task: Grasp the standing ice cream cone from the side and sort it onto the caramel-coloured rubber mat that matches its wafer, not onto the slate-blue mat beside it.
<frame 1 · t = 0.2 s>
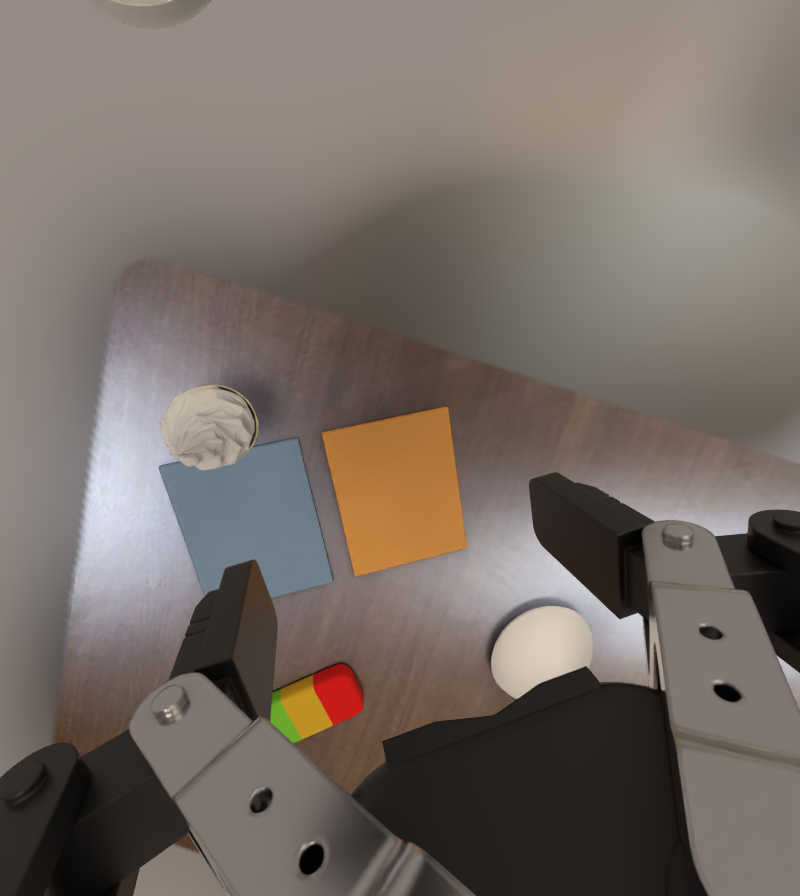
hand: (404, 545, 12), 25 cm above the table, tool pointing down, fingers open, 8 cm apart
ice cream cone: (239, 403, 34), on the table
slate pad: (253, 526, 37), on the table
caramel pad: (398, 492, 38), on the table
popsicle: (286, 706, 42), on the table
flower in vase: (535, 634, 46), on the table
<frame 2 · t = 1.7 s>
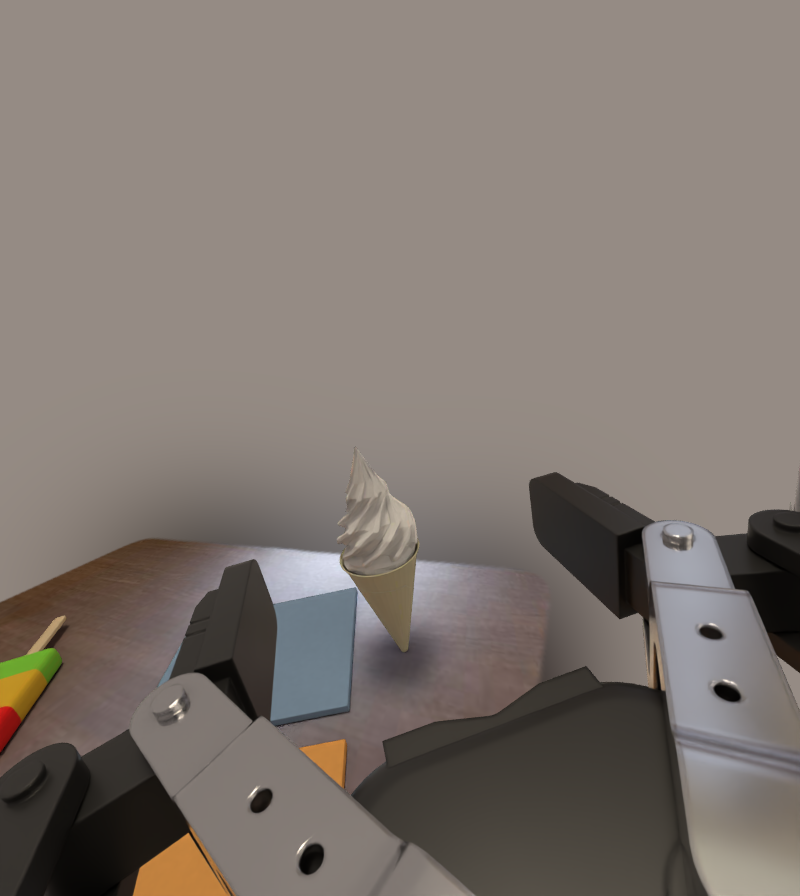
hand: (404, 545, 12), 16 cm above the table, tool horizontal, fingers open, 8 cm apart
ice cream cone: (405, 651, 29), on the table
slate pad: (259, 660, 31), on the table
popsicle: (18, 692, 33), on the table
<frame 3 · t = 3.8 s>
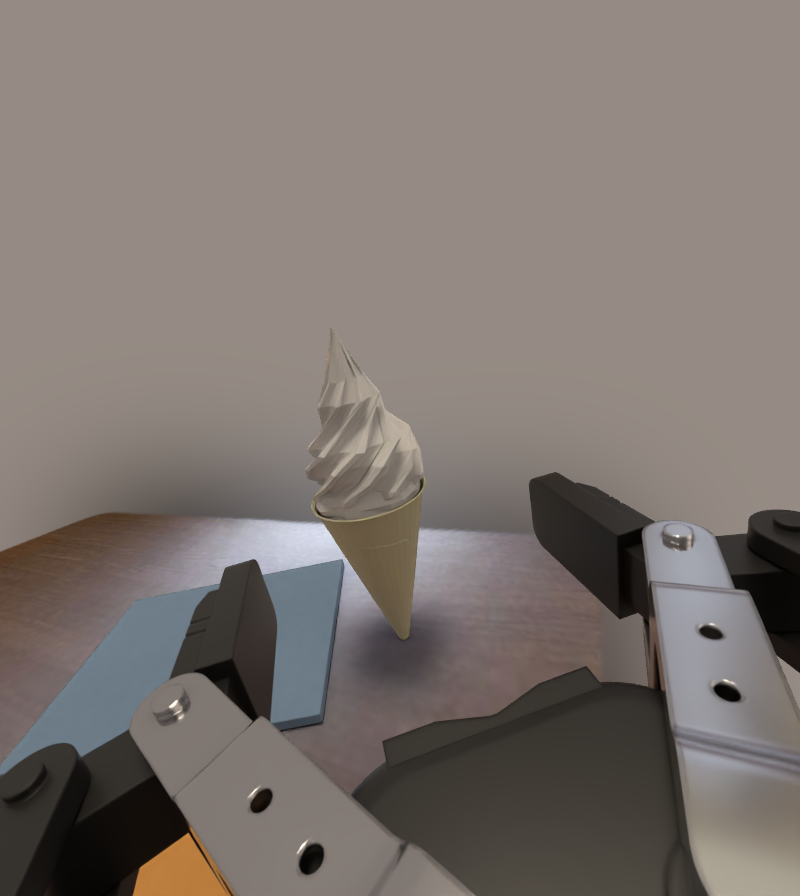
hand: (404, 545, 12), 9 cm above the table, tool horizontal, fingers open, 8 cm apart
ice cream cone: (405, 638, 21), on the table
slate pad: (209, 650, 23), on the table
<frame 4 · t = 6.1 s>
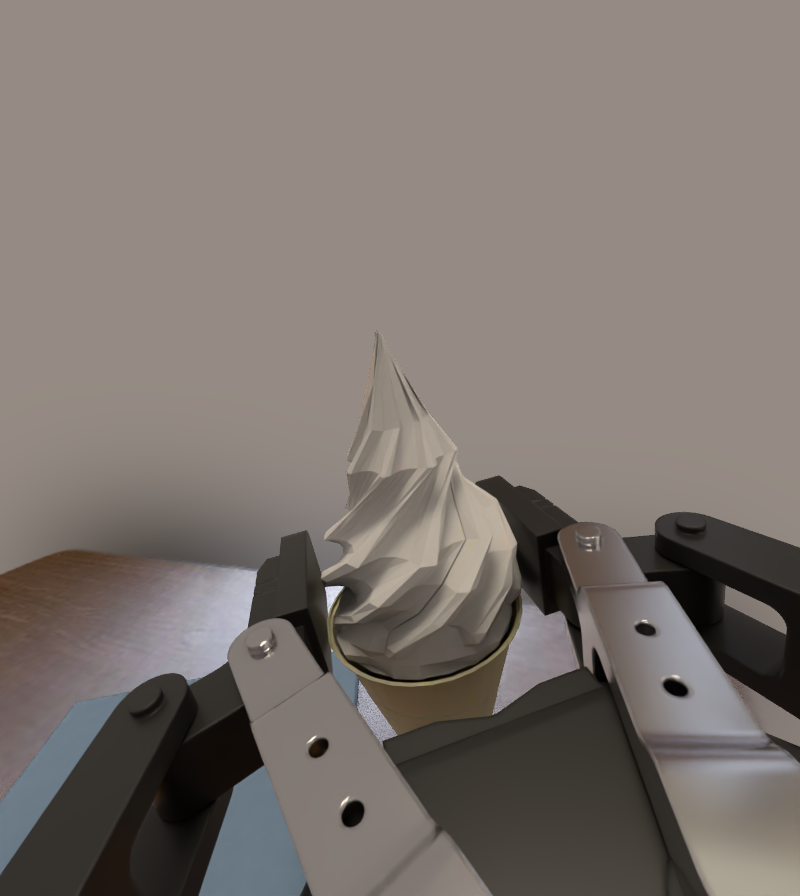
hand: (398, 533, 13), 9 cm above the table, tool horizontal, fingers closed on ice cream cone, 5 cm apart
ice cream cone: (461, 812, 14), on the table, touching gripper
slate pad: (165, 811, 15), on the table
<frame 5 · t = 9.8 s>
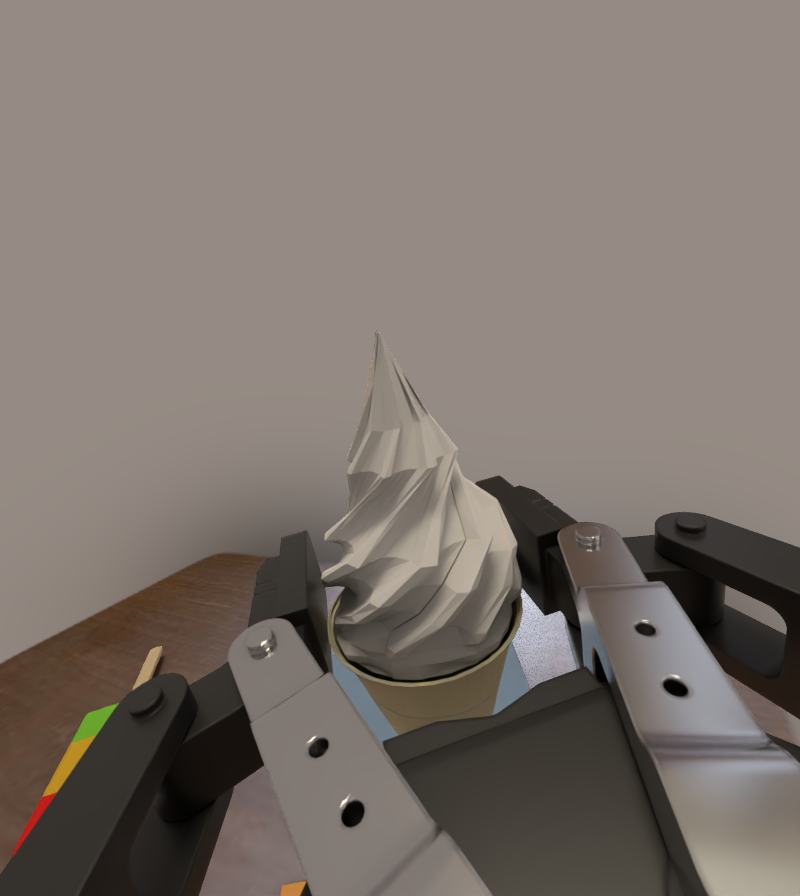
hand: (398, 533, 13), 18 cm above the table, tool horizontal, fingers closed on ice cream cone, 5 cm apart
ice cream cone: (461, 812, 14), point 9 cm above the table, touching gripper
slate pad: (418, 712, 26), on the table
popsicle: (128, 741, 29), on the table
when the fingers open (10 cm above the table, at t = 13.8 s): ice cream cone stays where it is, resting on caramel pad.
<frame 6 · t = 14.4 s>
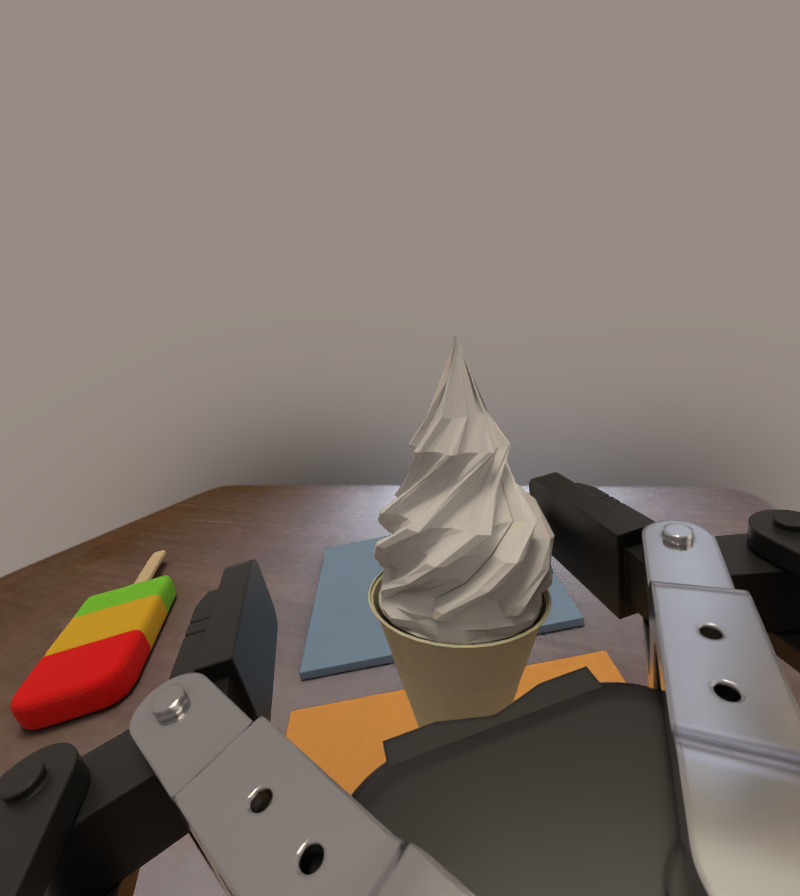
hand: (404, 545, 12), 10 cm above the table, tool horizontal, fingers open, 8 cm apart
ice cream cone: (461, 825, 13), resting on caramel pad
slate pad: (429, 582, 26), on the table
caramel pad: (475, 838, 13), on the table
popsicle: (131, 624, 28), on the table
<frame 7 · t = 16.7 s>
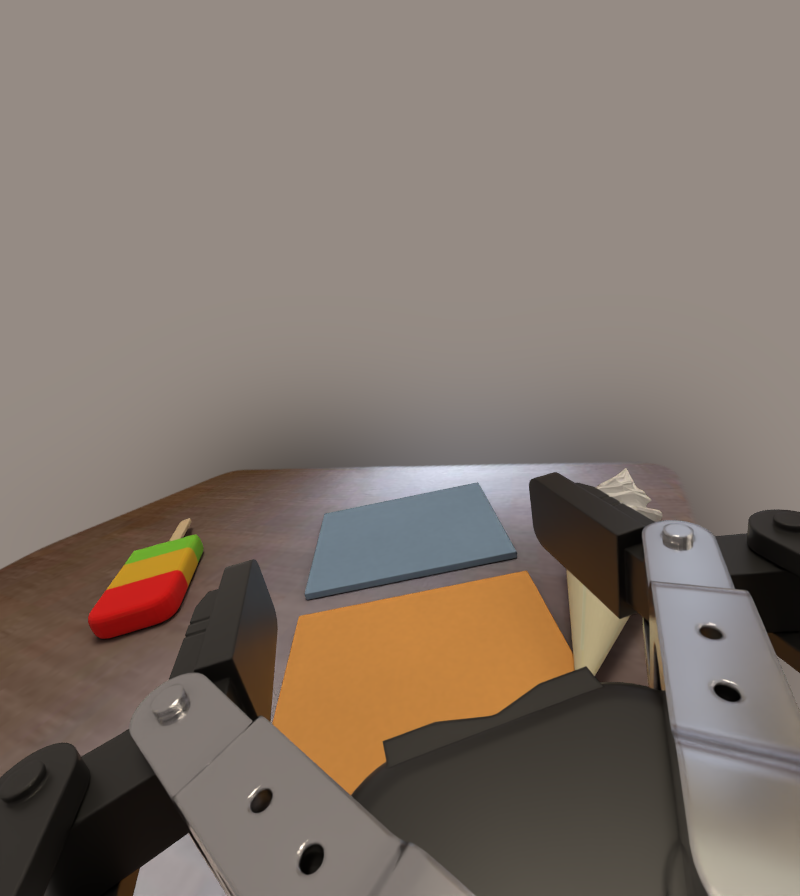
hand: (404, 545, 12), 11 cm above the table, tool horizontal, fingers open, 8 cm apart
ice cream cone: (581, 688, 17), point 1 cm above the table
slate pad: (405, 534, 33), on the table
caramel pad: (423, 675, 20), on the table
popsicle: (168, 572, 35), on the table
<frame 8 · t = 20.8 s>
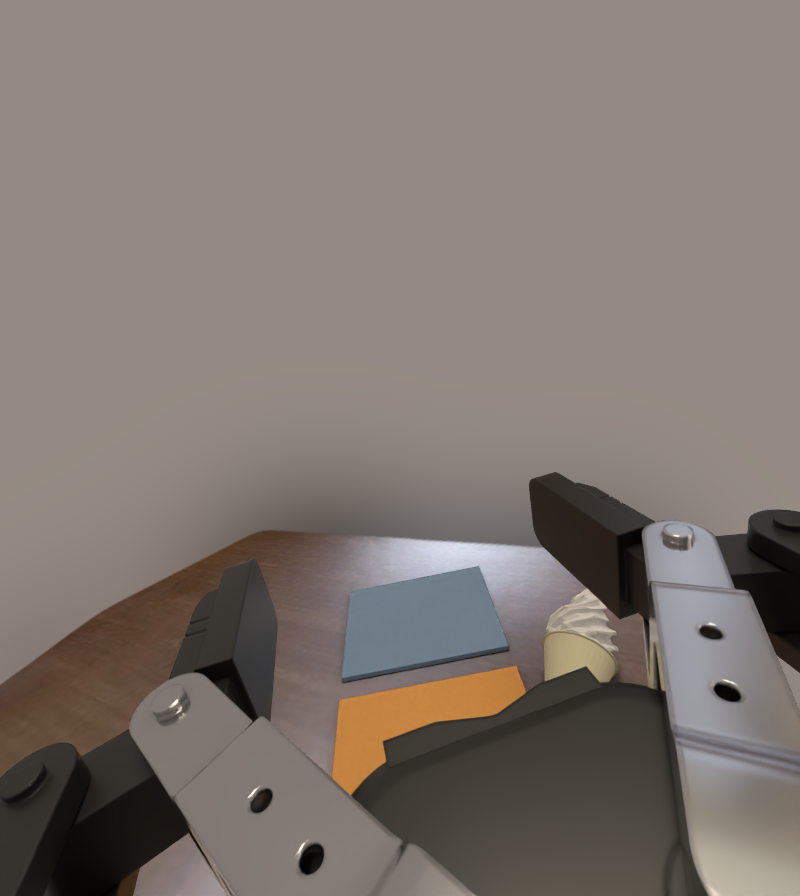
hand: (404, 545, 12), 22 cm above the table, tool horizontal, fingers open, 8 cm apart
ice cream cone: (550, 780, 24), point 1 cm above the table, touching caramel pad
slate pad: (419, 619, 40), on the table
caramel pad: (437, 759, 28), on the table
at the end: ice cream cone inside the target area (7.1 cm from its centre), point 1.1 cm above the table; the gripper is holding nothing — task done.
